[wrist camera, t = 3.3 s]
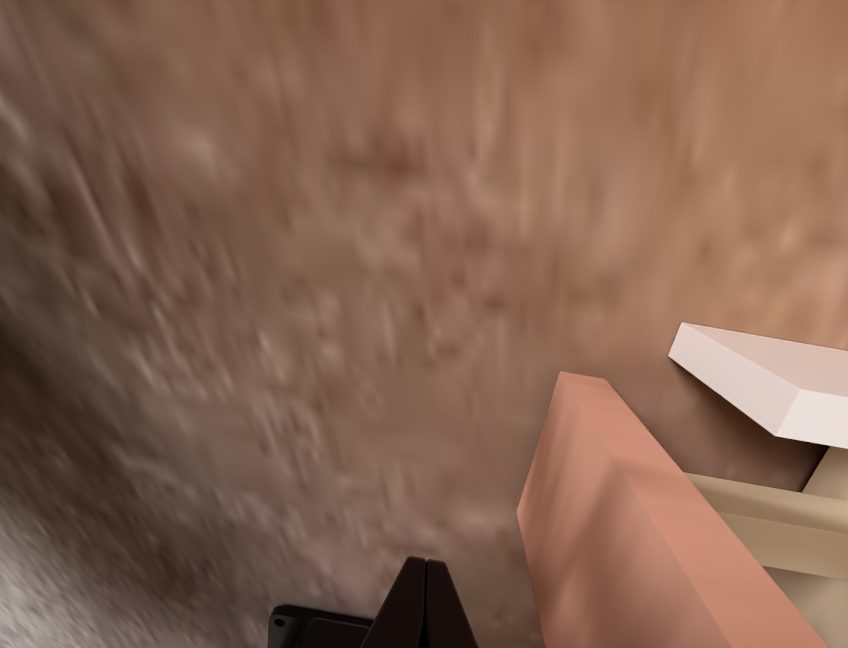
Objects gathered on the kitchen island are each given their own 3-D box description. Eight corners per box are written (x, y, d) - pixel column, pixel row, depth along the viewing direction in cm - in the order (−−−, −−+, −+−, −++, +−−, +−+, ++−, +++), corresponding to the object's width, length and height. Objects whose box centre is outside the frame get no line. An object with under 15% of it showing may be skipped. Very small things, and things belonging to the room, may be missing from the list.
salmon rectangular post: (790, 568, 15) (1243, 1069, 6) (514, 520, 15) (600, 954, 6) (888, 416, 13) (1783, 875, 4) (563, 360, 13) (795, 701, 4)
